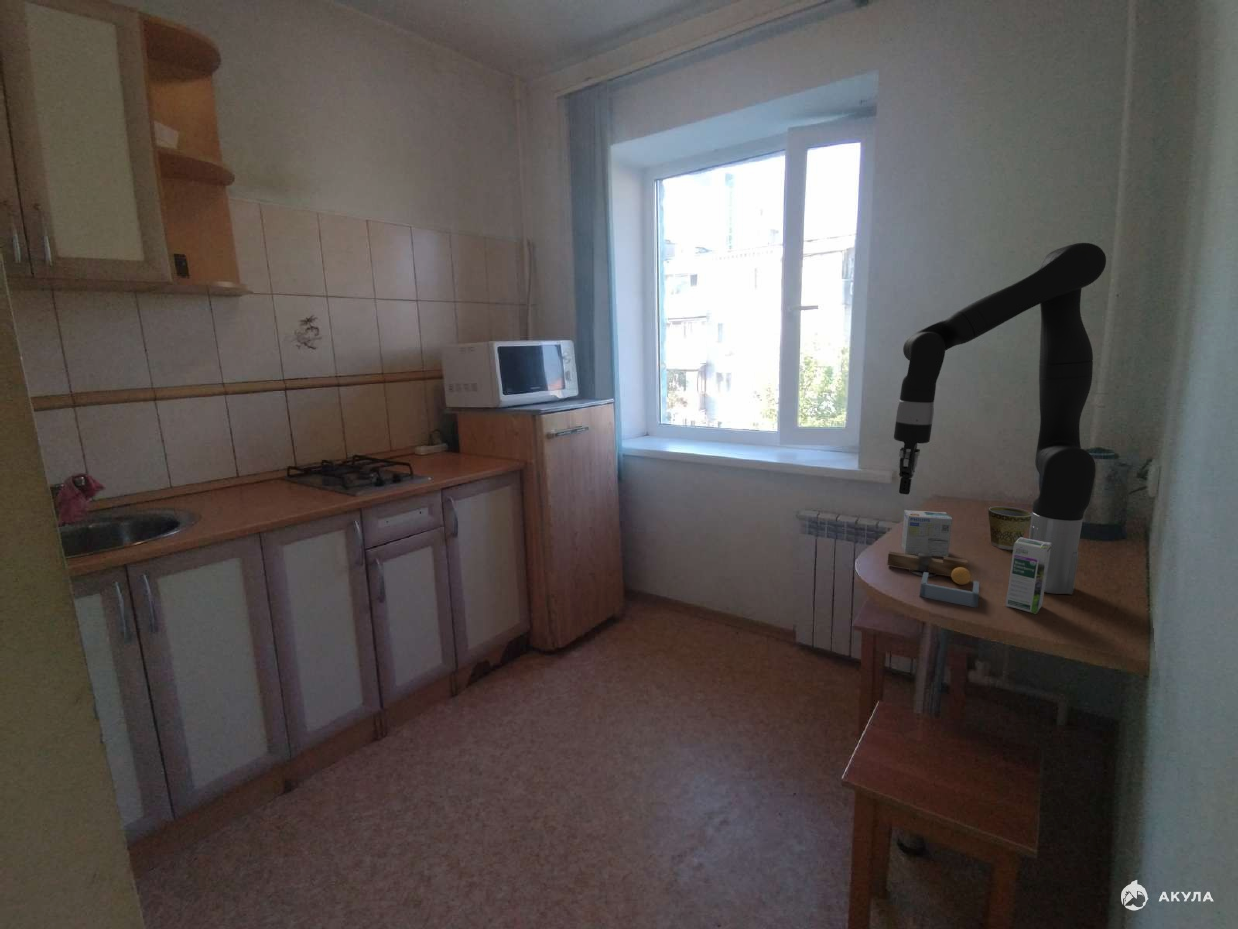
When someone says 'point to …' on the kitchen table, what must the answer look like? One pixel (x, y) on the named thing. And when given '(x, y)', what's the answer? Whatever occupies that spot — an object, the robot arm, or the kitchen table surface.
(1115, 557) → the kitchen table surface
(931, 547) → the light bulb box
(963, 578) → the ball
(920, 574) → the pivot base
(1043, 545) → the syrup box
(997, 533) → the ceramic cup
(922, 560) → the tan wooden bar
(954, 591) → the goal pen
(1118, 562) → the kitchen table surface
